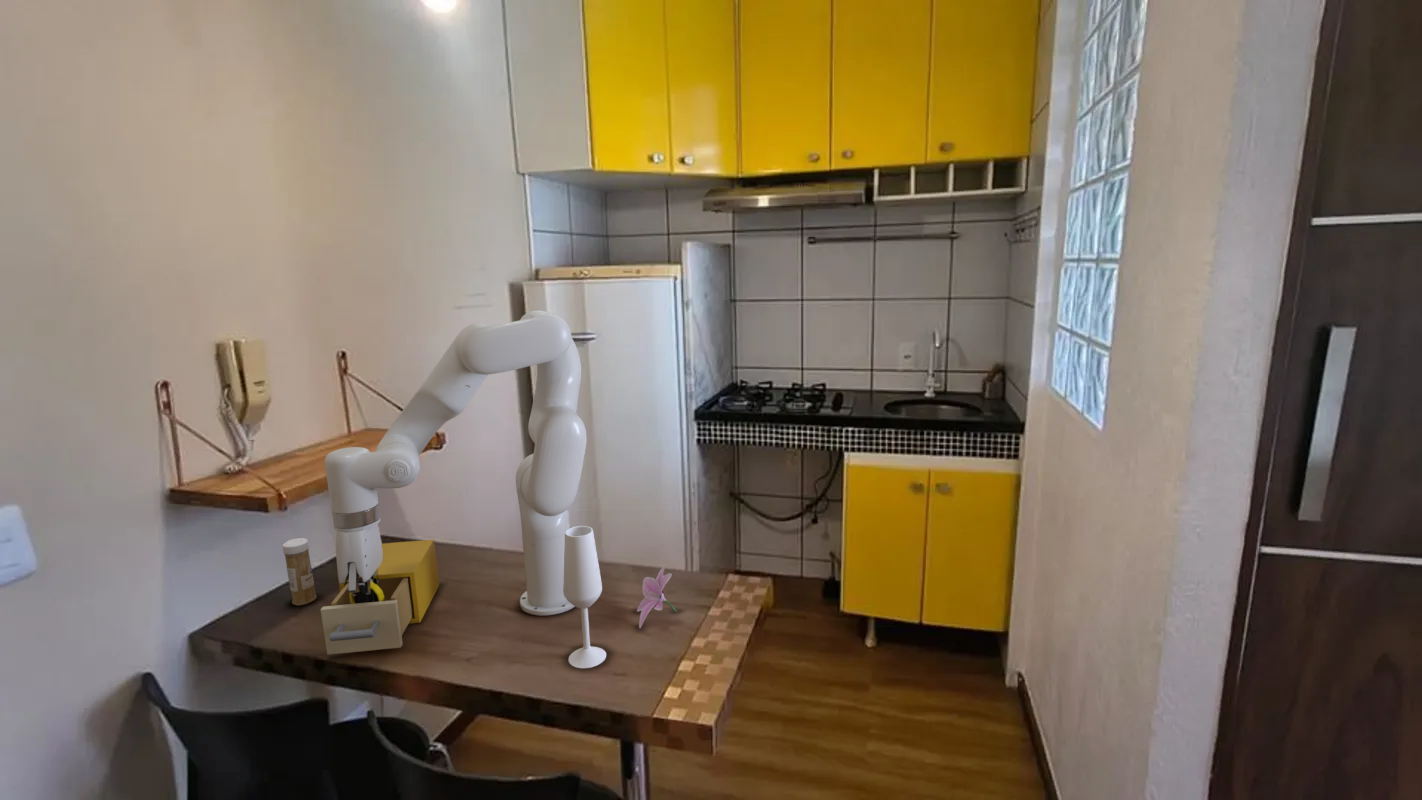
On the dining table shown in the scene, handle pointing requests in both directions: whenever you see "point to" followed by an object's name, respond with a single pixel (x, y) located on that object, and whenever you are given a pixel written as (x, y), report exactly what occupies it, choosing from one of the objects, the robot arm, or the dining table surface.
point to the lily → (653, 594)
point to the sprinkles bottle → (299, 571)
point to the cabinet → (411, 571)
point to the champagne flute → (582, 588)
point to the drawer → (368, 619)
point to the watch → (374, 588)
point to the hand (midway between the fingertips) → (369, 608)
